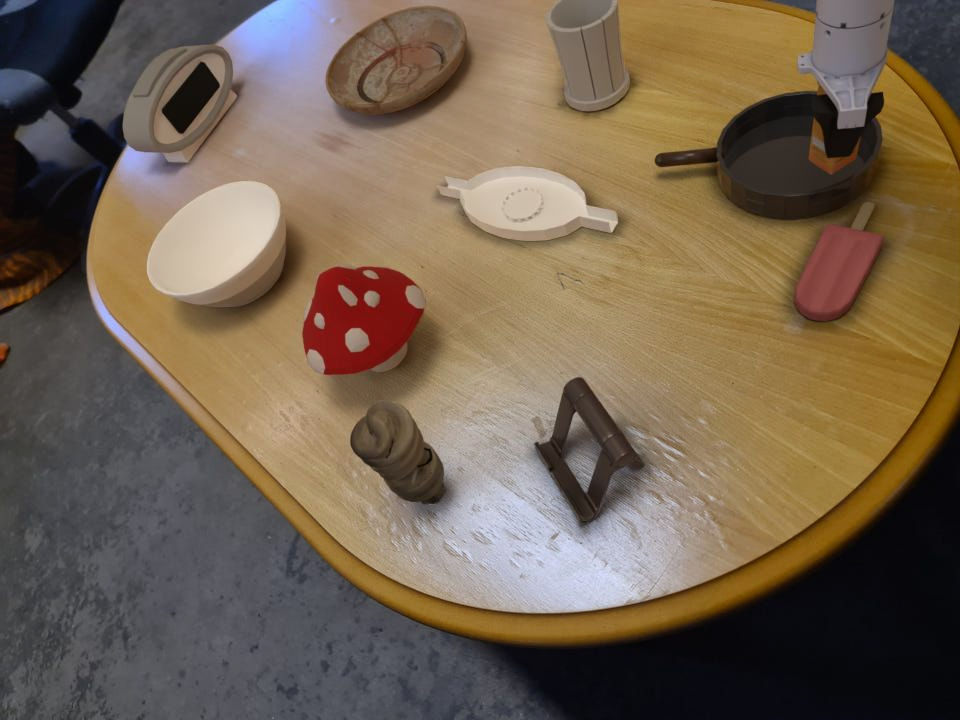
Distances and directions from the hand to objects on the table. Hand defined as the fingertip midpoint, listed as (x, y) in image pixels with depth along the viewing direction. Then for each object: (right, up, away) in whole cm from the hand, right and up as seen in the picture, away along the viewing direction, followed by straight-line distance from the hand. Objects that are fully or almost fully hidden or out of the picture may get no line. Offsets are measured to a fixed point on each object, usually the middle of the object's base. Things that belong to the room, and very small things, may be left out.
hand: (837, 137), depth 68 cm
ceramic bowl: (-47, +23, +42) cm, 67 cm away
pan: (0, 0, +9) cm, 9 cm away
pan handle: (-11, +1, +11) cm, 16 cm away
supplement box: (+1, -2, +2) cm, 3 cm away
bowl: (-67, -10, +28) cm, 73 cm away
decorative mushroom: (-45, -21, +12) cm, 51 cm away
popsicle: (+1, -12, 0) cm, 12 cm away
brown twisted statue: (-39, -35, 0) cm, 52 cm away
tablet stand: (-24, -32, -3) cm, 40 cm away
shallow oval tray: (-29, -3, +18) cm, 35 cm away
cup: (-20, +15, +27) cm, 36 cm away
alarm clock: (-83, +19, +54) cm, 101 cm away
